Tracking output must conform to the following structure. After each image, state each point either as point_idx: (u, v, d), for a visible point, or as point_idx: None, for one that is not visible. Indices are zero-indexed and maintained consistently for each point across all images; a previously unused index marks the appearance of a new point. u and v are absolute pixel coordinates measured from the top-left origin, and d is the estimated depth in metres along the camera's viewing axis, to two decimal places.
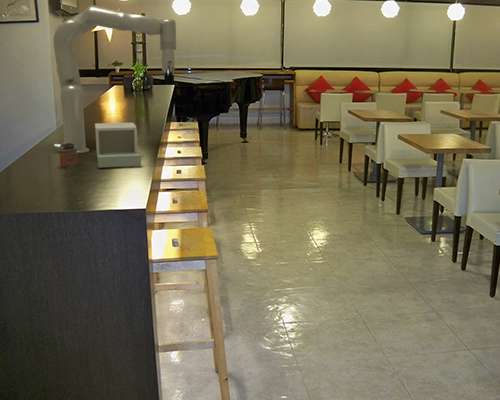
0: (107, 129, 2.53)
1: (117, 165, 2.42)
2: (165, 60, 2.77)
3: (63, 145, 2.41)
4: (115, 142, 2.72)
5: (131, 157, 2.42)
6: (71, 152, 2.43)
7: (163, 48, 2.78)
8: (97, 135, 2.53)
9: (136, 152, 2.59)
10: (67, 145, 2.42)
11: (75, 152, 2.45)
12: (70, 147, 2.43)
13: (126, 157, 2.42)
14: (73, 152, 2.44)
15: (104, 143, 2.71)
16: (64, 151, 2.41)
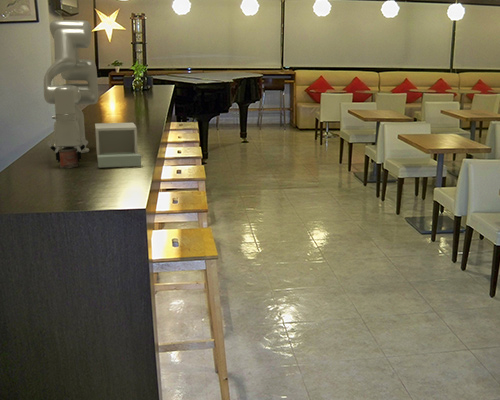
0: (107, 129, 2.53)
1: (117, 165, 2.42)
2: (79, 133, 2.41)
3: None
4: (115, 142, 2.72)
5: (131, 157, 2.42)
6: (71, 152, 2.43)
7: (72, 120, 2.39)
8: (97, 135, 2.53)
9: (136, 152, 2.59)
10: None
11: (75, 152, 2.45)
12: (70, 147, 2.43)
13: (126, 157, 2.42)
14: (73, 152, 2.44)
15: (104, 143, 2.71)
16: (64, 151, 2.41)
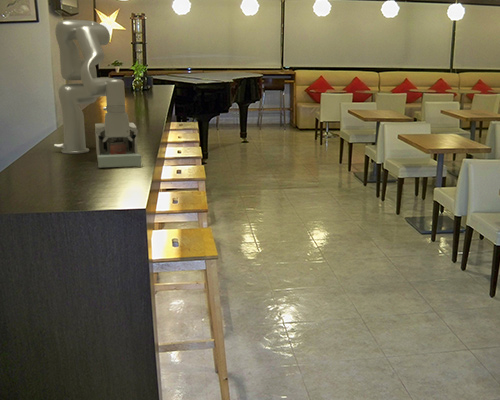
0: None
1: (117, 165, 2.42)
2: (128, 125, 2.48)
3: (113, 138, 2.48)
4: None
5: (131, 157, 2.42)
6: (121, 145, 2.50)
7: (123, 112, 2.45)
8: (97, 135, 2.53)
9: (136, 152, 2.59)
10: (117, 138, 2.49)
11: (124, 145, 2.52)
12: (120, 140, 2.50)
13: (126, 157, 2.42)
14: (122, 145, 2.51)
15: None
16: (114, 144, 2.48)
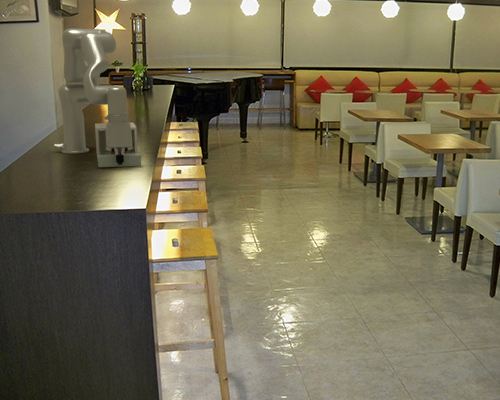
0: None
1: (117, 165, 2.42)
2: (131, 134, 2.37)
3: None
4: None
5: (131, 157, 2.43)
6: None
7: (125, 121, 2.35)
8: (97, 135, 2.53)
9: (136, 152, 2.59)
10: None
11: None
12: None
13: (126, 157, 2.43)
14: None
15: (104, 143, 2.71)
16: None
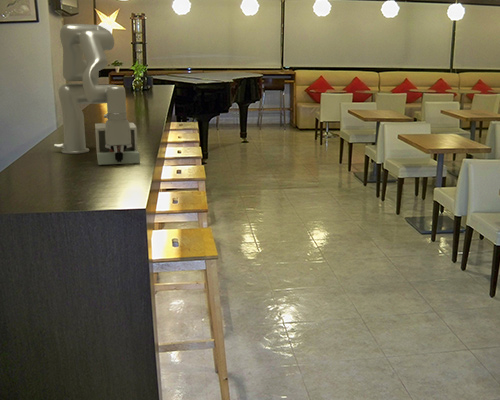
0: None
1: (116, 162, 2.48)
2: (130, 132, 2.43)
3: None
4: None
5: (130, 154, 2.49)
6: None
7: (124, 119, 2.40)
8: (97, 135, 2.53)
9: None
10: None
11: None
12: None
13: (125, 154, 2.48)
14: None
15: (104, 143, 2.71)
16: None
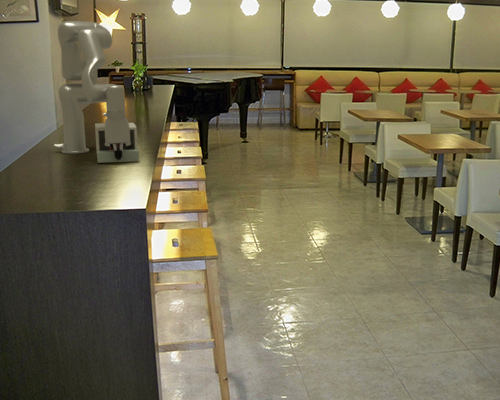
0: None
1: (116, 160, 2.52)
2: (129, 130, 2.47)
3: None
4: None
5: (129, 153, 2.53)
6: None
7: (123, 118, 2.45)
8: (97, 135, 2.53)
9: None
10: None
11: None
12: None
13: (124, 153, 2.52)
14: None
15: (104, 143, 2.71)
16: None
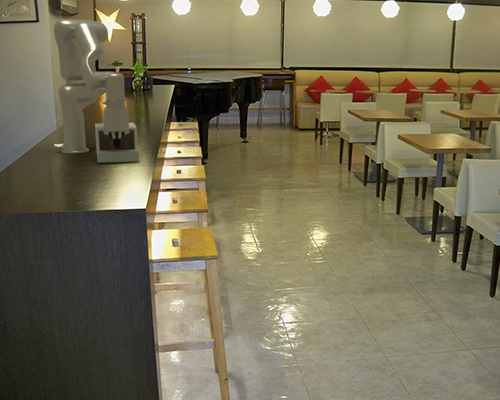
0: None
1: (116, 160, 2.52)
2: (128, 119, 2.47)
3: None
4: None
5: (129, 153, 2.53)
6: None
7: (122, 106, 2.45)
8: (97, 135, 2.53)
9: None
10: (116, 134, 2.59)
11: (122, 141, 2.62)
12: None
13: (124, 153, 2.52)
14: (121, 141, 2.61)
15: (104, 143, 2.71)
16: None
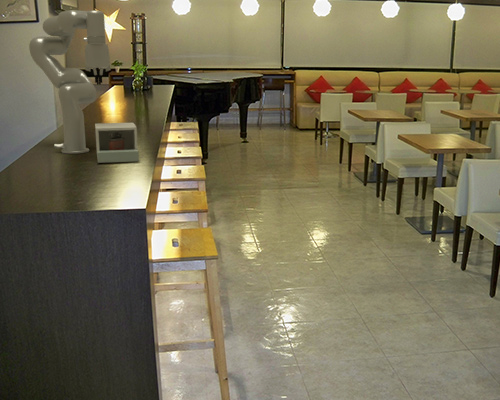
0: (107, 129, 2.53)
1: (116, 160, 2.52)
2: (108, 56, 2.56)
3: (112, 134, 2.58)
4: None
5: (129, 153, 2.53)
6: (119, 141, 2.60)
7: (103, 42, 2.54)
8: (97, 135, 2.53)
9: None
10: (116, 135, 2.59)
11: (122, 141, 2.62)
12: (118, 136, 2.60)
13: (124, 153, 2.52)
14: (121, 141, 2.61)
15: (104, 143, 2.71)
16: (113, 140, 2.58)
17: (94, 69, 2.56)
